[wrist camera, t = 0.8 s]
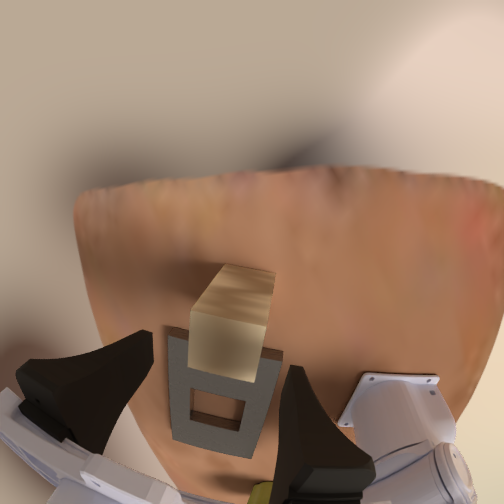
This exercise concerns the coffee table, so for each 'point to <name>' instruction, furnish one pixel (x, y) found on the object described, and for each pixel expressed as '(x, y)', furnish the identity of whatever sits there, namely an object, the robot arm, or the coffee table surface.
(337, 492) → the robot arm
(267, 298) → the birch peg
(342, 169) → the coffee table surface
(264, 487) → the plant pot
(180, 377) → the slotted plate
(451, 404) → the coffee table surface
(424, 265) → the coffee table surface
